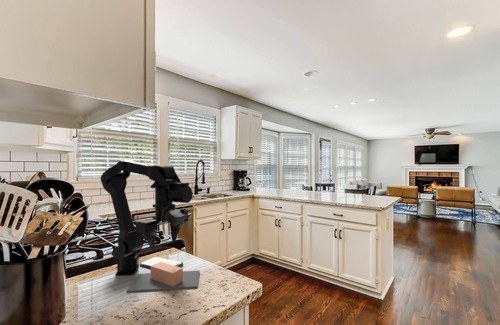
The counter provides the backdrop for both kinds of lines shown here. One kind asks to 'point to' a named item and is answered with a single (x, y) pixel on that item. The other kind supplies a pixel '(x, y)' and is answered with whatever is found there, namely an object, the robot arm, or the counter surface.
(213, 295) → the counter surface
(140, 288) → the mat
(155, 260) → the smartphone
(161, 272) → the block
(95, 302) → the counter surface
